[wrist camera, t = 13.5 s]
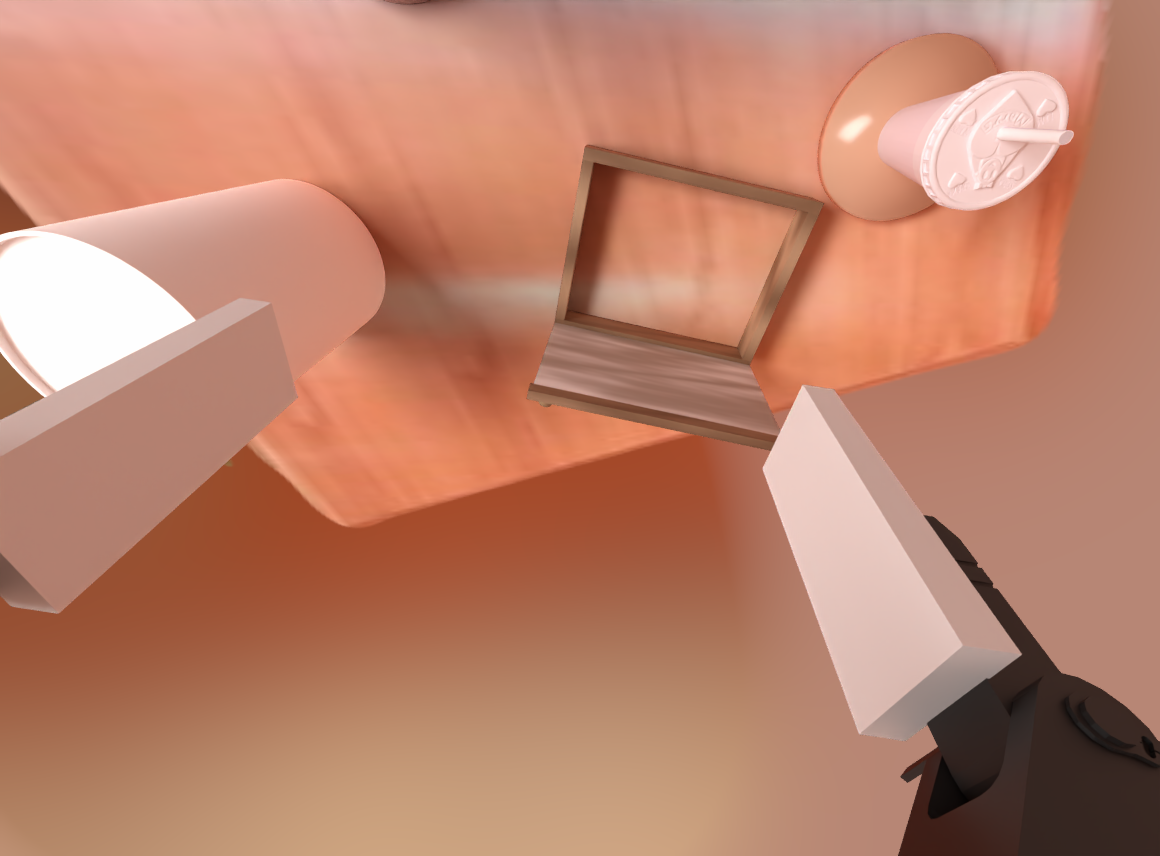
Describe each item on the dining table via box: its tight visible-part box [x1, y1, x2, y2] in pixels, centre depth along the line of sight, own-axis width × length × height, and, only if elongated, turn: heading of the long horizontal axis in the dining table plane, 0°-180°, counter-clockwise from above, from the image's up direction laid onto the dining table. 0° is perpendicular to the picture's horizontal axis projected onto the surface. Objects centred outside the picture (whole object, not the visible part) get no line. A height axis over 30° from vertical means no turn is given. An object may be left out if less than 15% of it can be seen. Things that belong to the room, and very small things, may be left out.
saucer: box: [818, 33, 998, 221], centre depth 33 cm, size 11×11×1 cm
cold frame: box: [527, 145, 824, 451], centre depth 34 cm, size 16×18×15 cm
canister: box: [0, 179, 385, 397], centre depth 34 cm, size 14×14×20 cm
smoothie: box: [878, 71, 1074, 210], centre depth 26 cm, size 6×6×14 cm
